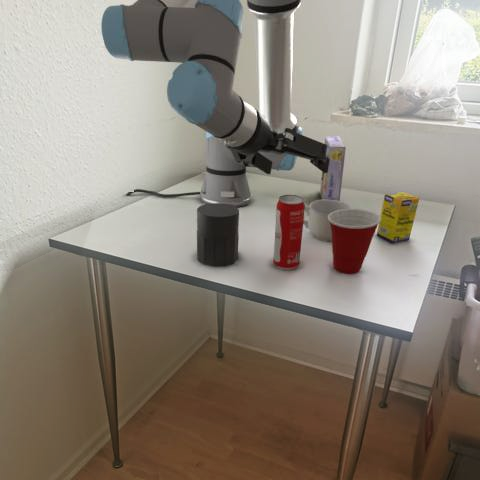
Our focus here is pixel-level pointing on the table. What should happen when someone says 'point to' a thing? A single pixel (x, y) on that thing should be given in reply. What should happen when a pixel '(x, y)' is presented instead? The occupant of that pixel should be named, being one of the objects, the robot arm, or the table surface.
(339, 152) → the cake pan box
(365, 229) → the plastic cup
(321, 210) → the teacup
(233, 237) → the dark grey cup
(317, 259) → the table surface
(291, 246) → the beverage can
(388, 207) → the supplement box
